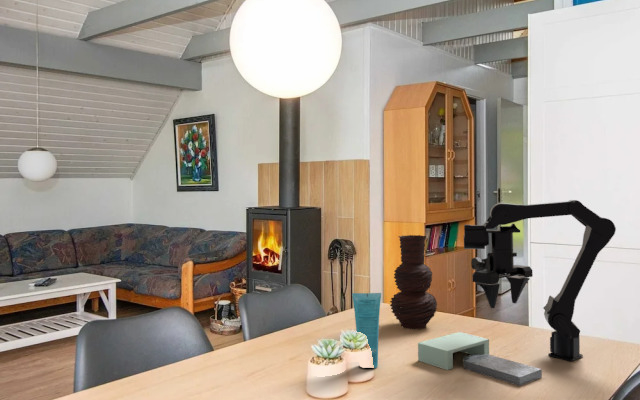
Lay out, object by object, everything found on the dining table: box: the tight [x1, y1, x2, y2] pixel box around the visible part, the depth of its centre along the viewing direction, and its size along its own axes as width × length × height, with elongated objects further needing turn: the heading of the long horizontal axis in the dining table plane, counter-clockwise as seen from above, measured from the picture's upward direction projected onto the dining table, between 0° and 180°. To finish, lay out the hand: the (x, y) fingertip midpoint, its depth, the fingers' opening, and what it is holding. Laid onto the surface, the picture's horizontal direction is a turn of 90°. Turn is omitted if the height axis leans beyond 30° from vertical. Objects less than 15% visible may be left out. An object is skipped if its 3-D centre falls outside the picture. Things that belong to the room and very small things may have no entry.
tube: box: [351, 292, 382, 369], centre depth 146 cm, size 7×5×19 cm, turn 96°
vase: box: [389, 234, 438, 330], centre depth 186 cm, size 15×15×30 cm
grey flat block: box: [462, 353, 543, 387], centre depth 140 cm, size 18×9×2 cm, turn 37°
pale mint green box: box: [417, 331, 490, 371], centre depth 151 cm, size 10×17×5 cm, turn 127°
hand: (503, 305), depth 155 cm, fingers open, 9 cm apart
